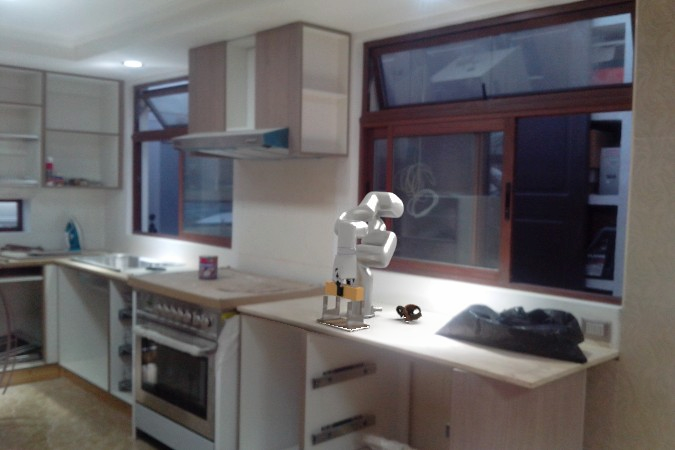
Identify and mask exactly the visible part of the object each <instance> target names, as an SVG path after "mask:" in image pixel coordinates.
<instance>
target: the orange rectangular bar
mask: <svg viewBox="0 0 675 450" xmlns="http://www.w3.org/2000/svg"><path fill="white" fill-rule="evenodd" d="M324 286H325V287H324V289H325V291H324V294H325V295H330V296H334V297H336V296H337V286H336V284H335V282H334V281H332V280H329V281H325V285H324ZM342 287H343V297H341V296H337V297H340V299H341V298H342V299H346V300H350V301H351V300H354V301H360V300H363V290H364V288H362V287H357V286H353V285H348V284H346V283H343V286H342Z"/></svg>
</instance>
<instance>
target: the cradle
mask: <svg viewBox="0 0 675 450" xmlns="http://www.w3.org/2000/svg"><path fill="white" fill-rule="evenodd" d="M328 297H329V296H328V295H324V296H323V298H322V316H321V318H316V321H318V322H317V323H319V322H321V323H320V324H322V323H326V324H330V325H334V326H338V327H343V328H347V329H351V330H352V329H356V328H361V327H367V326H369V327H370V324H368V323H367V324H366V323H364V321H365V318H364V307H365V300H360V313H359V315H355V316H352V302H351V301H347V305H346V312H347V314H346V318H345V317H341V316H340V312H341V297H337V296H335V307H334V308H329V309H328V302H329V301H328V300H329V298H328ZM326 324H325V325H326Z"/></svg>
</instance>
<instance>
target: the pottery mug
mask: <svg viewBox="0 0 675 450" xmlns="http://www.w3.org/2000/svg"><path fill="white" fill-rule="evenodd" d="M416 310H418V312H417V313H414V312H415V311H416ZM395 311H396V313H397V315H399V317H400V318H401V319H402V318H404V317H406V318H405V319H404V322H405V321H409V322H412V321H417V320H418V319H420V318H421V317H423V315H422V309H421V307H420V306H418V305H417V304H412V303H409V304H406V305H405V306H403V305H397V306H396V308H395Z"/></svg>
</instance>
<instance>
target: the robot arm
mask: <svg viewBox="0 0 675 450" xmlns="http://www.w3.org/2000/svg"><path fill="white" fill-rule="evenodd" d="M403 203H404V202H403V201H402V199H400V198H399V197H398V196H397V195H396V194H394V193H393V192H387V191H370V192H368V193H367V194H366V195H365V196H364V198H363V199H362V201H361V202H360V203H359V205H358V206H355V207H353V208H350V209H347V210H346V211H344V212H342V213H341V214H340V215H339V216H338V218H337V219H336V221H335V223H334V225H333V231H334V234H335V235H336V236H337V244H336V245H337V247H336V249H337V250H336V254H335V256H334V258H333V264H332V265H333V266H332V274H331V276H332V278H331V281H334V282H335V284H336V286H337V296H341V297H343V287H342V286H343V284H344V280H345V284H348V285H353V286H357V287H362V288H364V290H363V300H365V307H364V319H370V318H369V317H371V318H374V317H375V316H376V313H375V312H383V307H382V306H374V305H372V304H373V288H374V287H373V286H374V285H373V284H374V275H373V272H372V270H371V268H378V269H384V268H387V267H388V266H389V264H390V262H391V259H392V257H393V255H394V252H395V251H396V247H397V242H398V239H397V235H396V233H395V232H393V231H391V230H387V227H386V224H385V222H384V221H383V219H382V218H393V219H395V218H397V219H398V218H400V217H402V216H403V213H404V210H405V209H404V204H403ZM381 217H382V218H381ZM357 239H360V243H361V244H357ZM341 297H340V298H341ZM350 302H352V316H355V315H359V313H360V301H354V300H350ZM345 314H346V315H347V311H346V313H345Z"/></svg>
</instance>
